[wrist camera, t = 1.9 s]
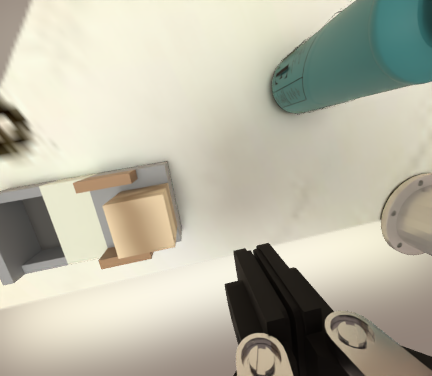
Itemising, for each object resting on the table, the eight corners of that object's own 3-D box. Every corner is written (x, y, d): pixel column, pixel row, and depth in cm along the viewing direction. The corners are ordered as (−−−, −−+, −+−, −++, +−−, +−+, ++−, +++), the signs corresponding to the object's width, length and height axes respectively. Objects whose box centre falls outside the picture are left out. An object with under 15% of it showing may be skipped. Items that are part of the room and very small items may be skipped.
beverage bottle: (311, 118, 27) (628, 63, 8) (260, 114, 26) (477, 41, 7) (319, 61, 25) (733, -184, 6) (266, 55, 25) (560, -256, 5)
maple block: (168, 182, 23) (163, 194, 18) (177, 225, 24) (175, 246, 19) (120, 191, 22) (102, 205, 17) (132, 234, 24) (118, 258, 19)
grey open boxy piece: (167, 161, 26) (161, 167, 20) (181, 228, 28) (180, 252, 22) (8, 188, 24) (-49, 204, 18) (37, 258, 26) (-6, 292, 20)
